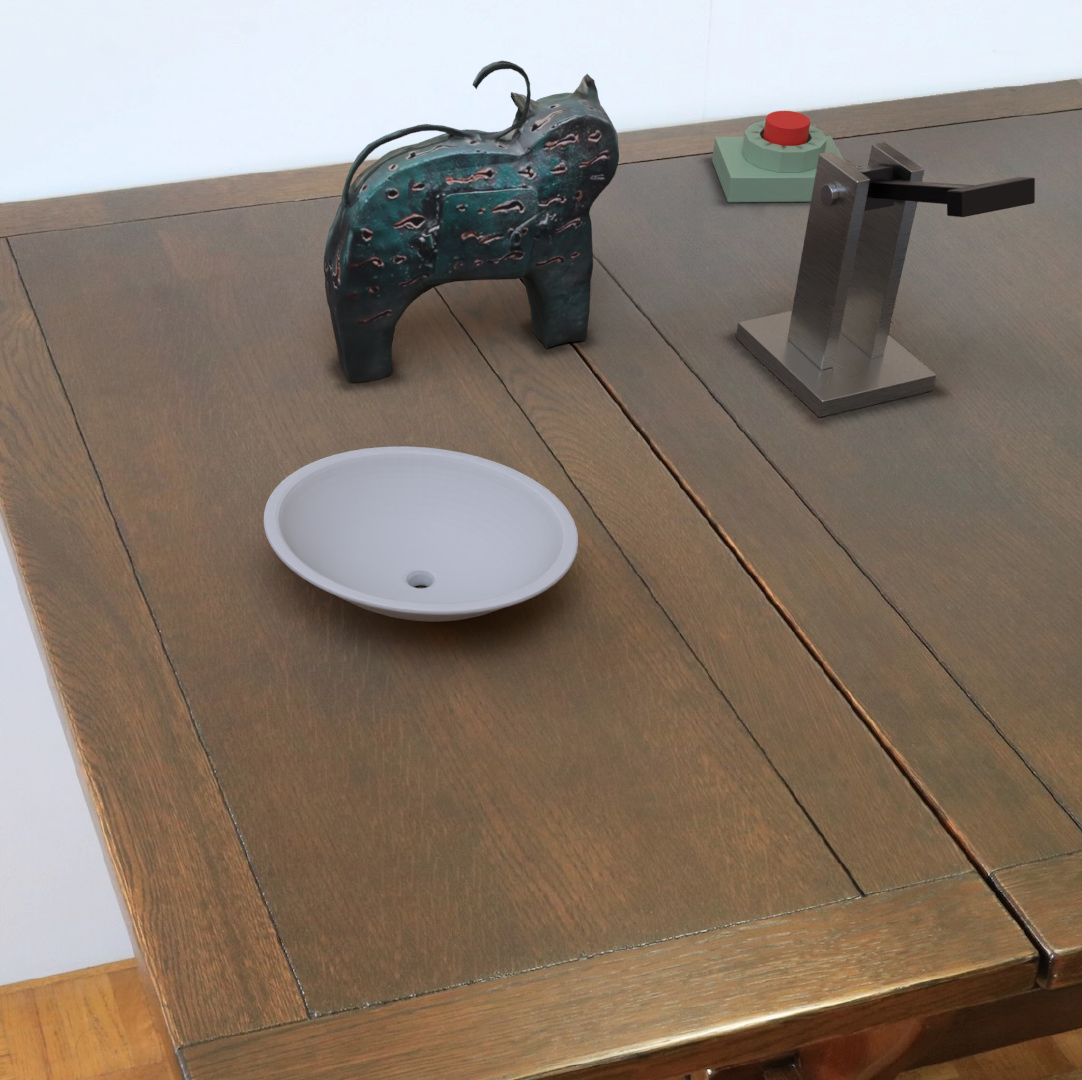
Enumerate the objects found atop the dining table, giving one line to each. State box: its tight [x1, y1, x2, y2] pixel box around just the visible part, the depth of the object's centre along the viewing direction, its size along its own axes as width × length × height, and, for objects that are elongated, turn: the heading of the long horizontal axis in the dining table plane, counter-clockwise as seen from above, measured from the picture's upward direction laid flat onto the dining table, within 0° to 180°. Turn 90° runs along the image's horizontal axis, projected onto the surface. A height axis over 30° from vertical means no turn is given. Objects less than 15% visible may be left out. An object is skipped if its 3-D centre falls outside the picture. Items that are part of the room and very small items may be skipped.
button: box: [763, 110, 811, 146], centre depth 125 cm, size 4×4×2 cm
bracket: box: [735, 141, 937, 418], centre depth 101 cm, size 11×9×15 cm
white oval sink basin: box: [263, 445, 579, 622], centre depth 85 cm, size 18×14×5 cm
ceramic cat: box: [323, 60, 620, 383], centre depth 100 cm, size 20×6×20 cm, turn 110°
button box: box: [711, 119, 845, 203], centre depth 126 cm, size 10×8×4 cm
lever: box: [854, 165, 1036, 218], centre depth 92 cm, size 14×5×2 cm, turn 22°
